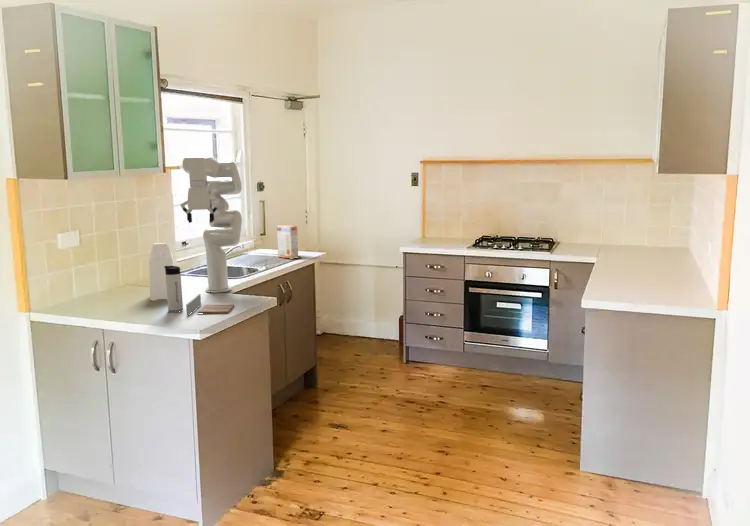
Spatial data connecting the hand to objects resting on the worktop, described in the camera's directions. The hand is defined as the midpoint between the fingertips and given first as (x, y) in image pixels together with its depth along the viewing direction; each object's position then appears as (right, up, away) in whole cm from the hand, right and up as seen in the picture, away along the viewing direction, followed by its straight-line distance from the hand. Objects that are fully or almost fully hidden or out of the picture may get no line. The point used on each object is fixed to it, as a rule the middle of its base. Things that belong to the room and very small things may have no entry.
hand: (201, 222), depth 304 cm
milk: (-22, -35, +17) cm, 45 cm away
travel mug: (-8, -40, -11) cm, 42 cm away
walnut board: (+10, -39, -11) cm, 42 cm away
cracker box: (+24, -16, +124) cm, 127 cm away
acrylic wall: (0, -39, -10) cm, 40 cm away
